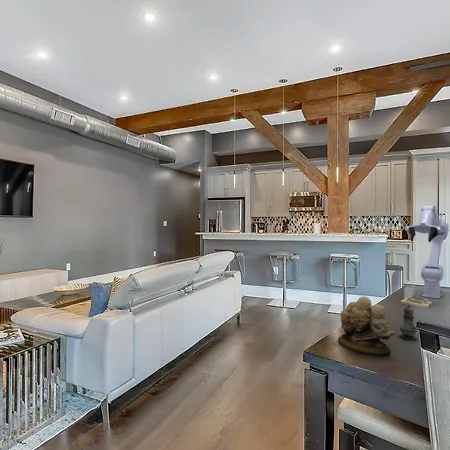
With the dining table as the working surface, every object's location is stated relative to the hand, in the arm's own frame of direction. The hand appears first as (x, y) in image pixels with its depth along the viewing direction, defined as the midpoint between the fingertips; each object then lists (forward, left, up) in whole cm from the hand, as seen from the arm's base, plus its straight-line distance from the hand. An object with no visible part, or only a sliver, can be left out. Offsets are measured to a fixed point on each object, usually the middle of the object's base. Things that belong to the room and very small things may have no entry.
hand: (420, 240), depth 160 cm
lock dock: (-4, -2, -32) cm, 33 cm away
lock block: (-13, -7, -32) cm, 35 cm away
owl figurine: (+72, 0, -33) cm, 79 cm away
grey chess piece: (+52, +8, -32) cm, 62 cm away
